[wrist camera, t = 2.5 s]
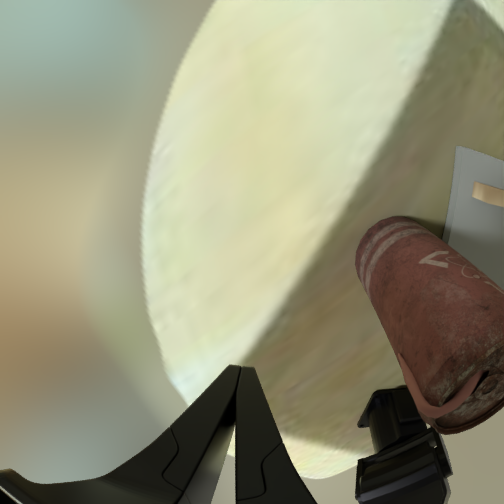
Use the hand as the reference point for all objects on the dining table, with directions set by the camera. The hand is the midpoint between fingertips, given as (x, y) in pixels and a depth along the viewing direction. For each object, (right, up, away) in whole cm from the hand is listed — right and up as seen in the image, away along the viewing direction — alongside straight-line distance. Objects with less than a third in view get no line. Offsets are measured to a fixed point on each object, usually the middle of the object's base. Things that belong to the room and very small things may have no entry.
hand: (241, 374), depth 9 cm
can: (+11, +4, +11) cm, 16 cm away
